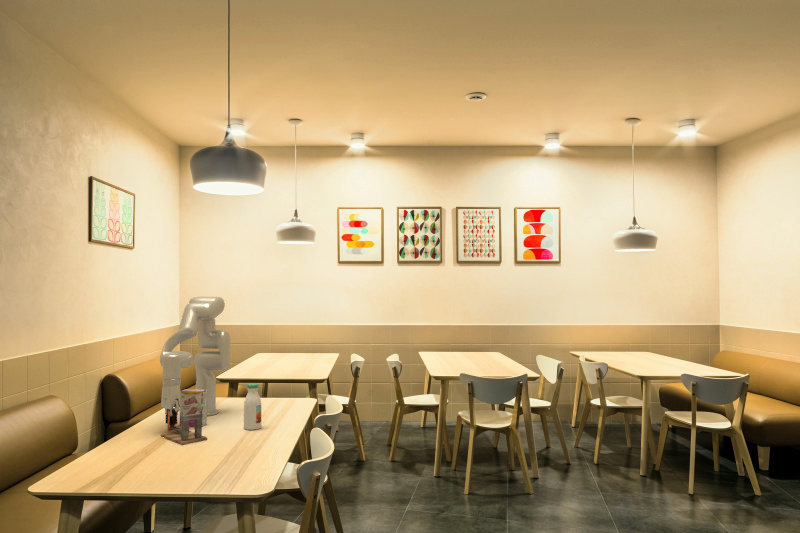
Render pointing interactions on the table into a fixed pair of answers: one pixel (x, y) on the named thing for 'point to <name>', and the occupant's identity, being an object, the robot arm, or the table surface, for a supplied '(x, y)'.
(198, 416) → the eye stand
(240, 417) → the table surface
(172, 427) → the lever
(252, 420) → the milk bottle
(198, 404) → the candy bar box
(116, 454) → the table surface
